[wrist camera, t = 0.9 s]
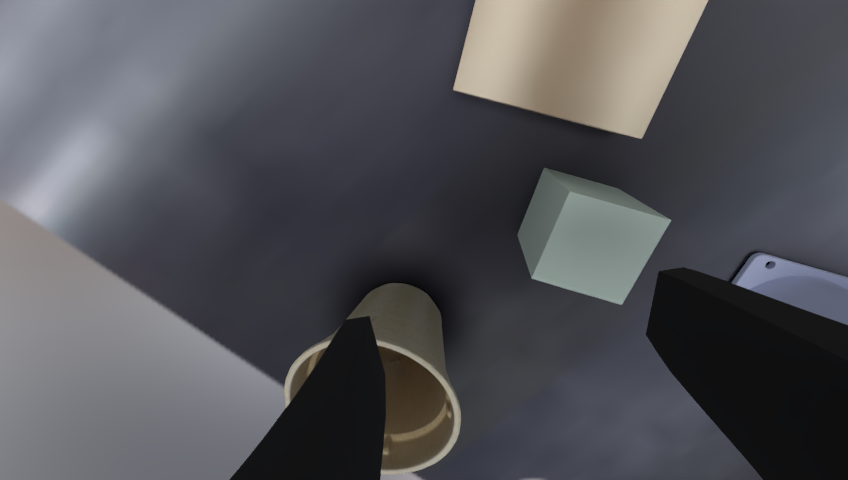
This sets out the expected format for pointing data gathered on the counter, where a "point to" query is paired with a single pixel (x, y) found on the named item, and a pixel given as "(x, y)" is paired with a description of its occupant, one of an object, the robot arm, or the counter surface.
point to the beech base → (577, 57)
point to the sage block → (588, 236)
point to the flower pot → (403, 376)
